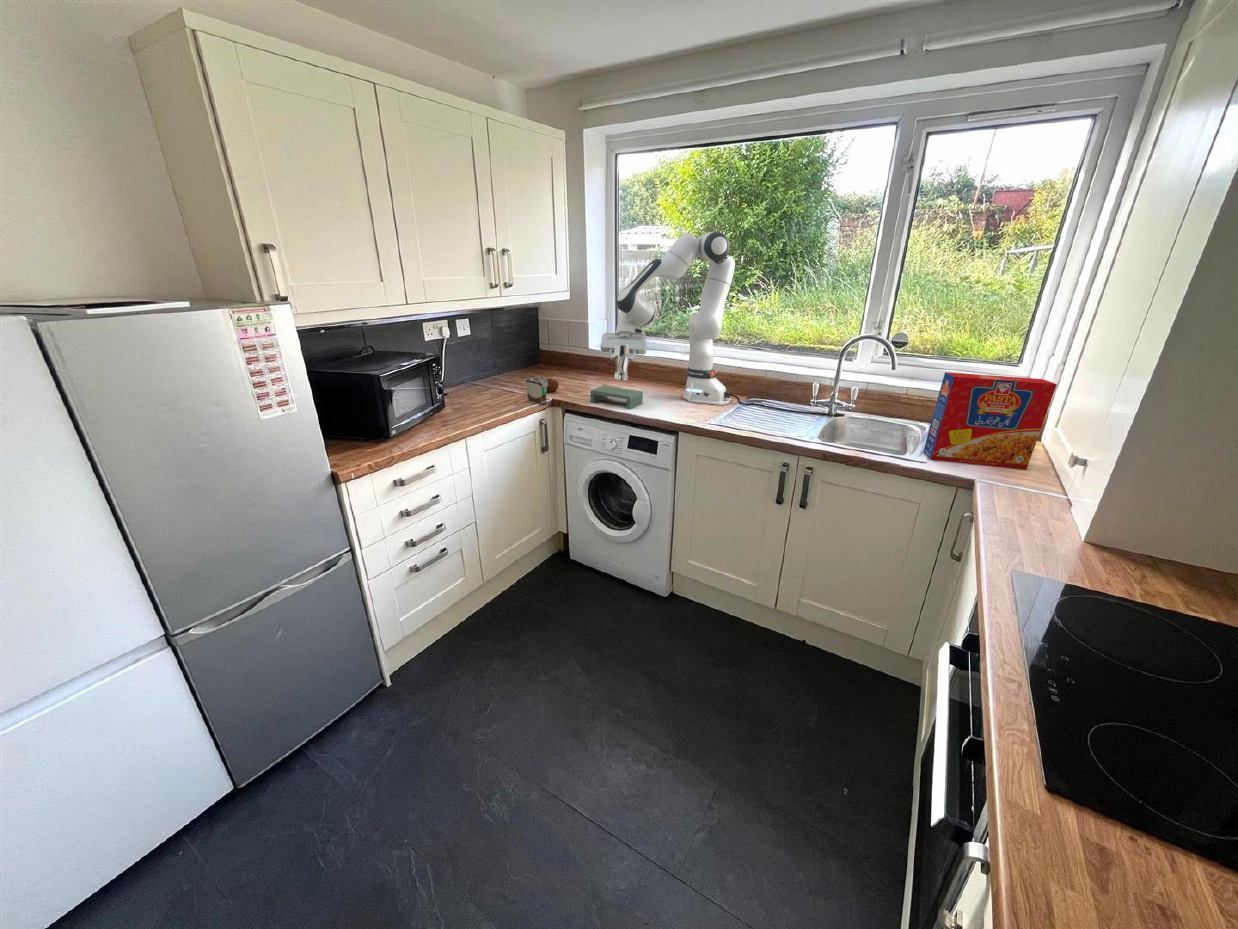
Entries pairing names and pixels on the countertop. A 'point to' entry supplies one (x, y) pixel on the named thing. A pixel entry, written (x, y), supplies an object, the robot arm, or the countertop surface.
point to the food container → (536, 390)
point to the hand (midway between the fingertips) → (621, 359)
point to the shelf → (617, 395)
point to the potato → (552, 385)
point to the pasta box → (988, 419)
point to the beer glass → (621, 360)
